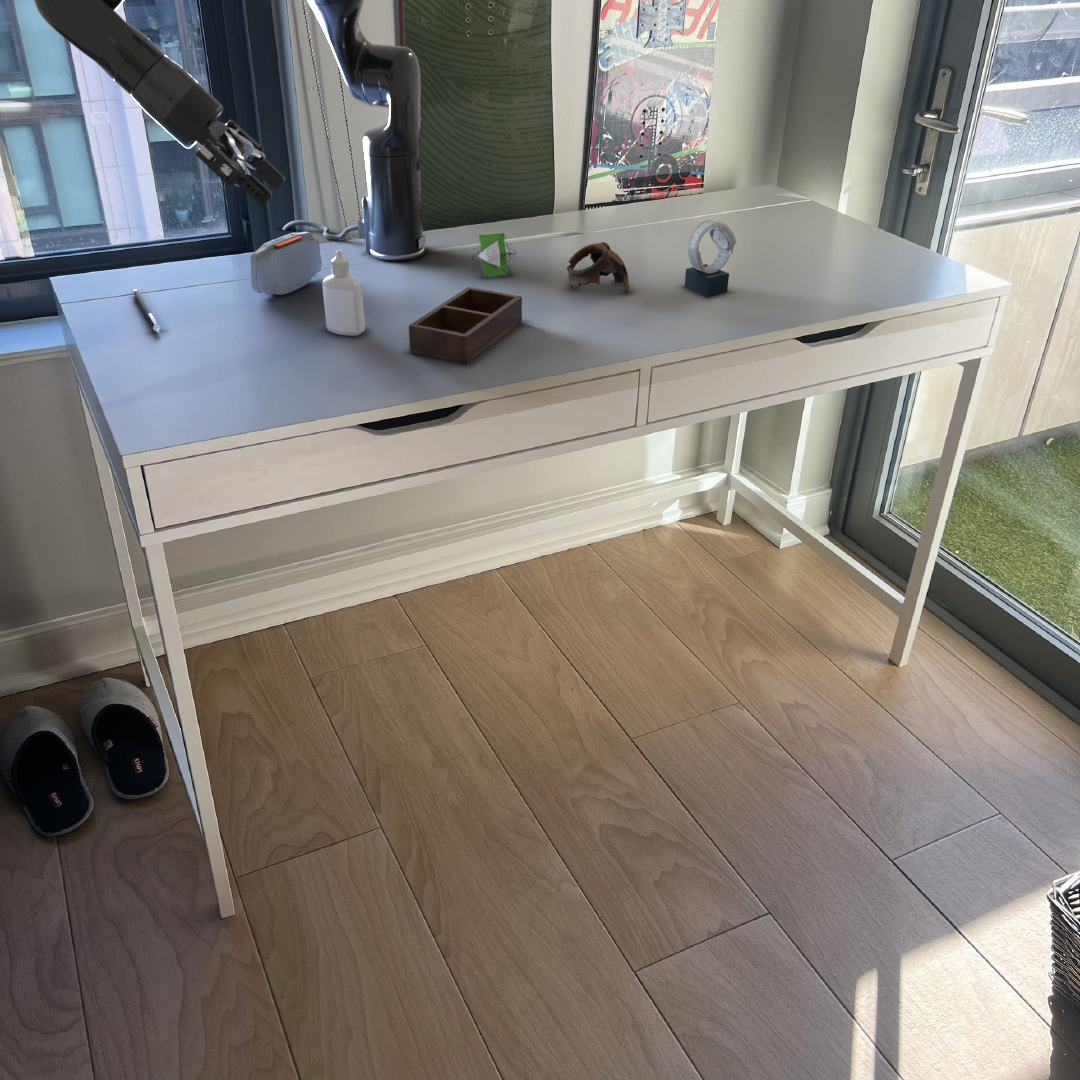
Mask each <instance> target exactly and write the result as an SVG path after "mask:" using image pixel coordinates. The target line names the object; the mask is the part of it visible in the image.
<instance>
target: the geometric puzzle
mask: <svg viewBox="0 0 1080 1080" xmlns="http://www.w3.org/2000/svg"><path fill="white" fill-rule="evenodd" d="M506 238H507V237H506V235H505V232H500V233H491V234H479V235H478V239H477V240H479V243H478V245H475V248H474V251H473V253H472V254H473V255H472V256H471V257H470V259H472V261H473V262H474V264H475V266H476V267H477V269H478V270H479V271H480V273H481V274H482V276H483V278H490V277H499V276H509V273H510V270H511V267H510V266H508V262H510V259H511V258H513V257H516V255H517V254H518V252H517V251H515V249H512V248H511V247H508V242H509V243H510V245H512V244H511V242H510V241H509V239H508V238H507V240H508V242H507V240H506ZM505 243H506V244H505ZM476 246H477V248H479V246H480V250H477V252H476V253H475V254H474V252H475V250H476ZM506 247H507V250H506ZM510 250H512V252H510ZM507 251H508V252H507ZM479 252H480V253H479ZM476 258H477V260H476ZM507 258H508V259H507ZM479 259H481V262H480V260H479ZM475 261H476V262H477V263H479V265H480V269H481V270H480V269H479V267H478V265H477V264H476V262H475ZM513 263H514V262H512V263H511V265H513Z"/></svg>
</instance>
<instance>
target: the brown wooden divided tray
mask: <svg viewBox="0 0 1080 1080" xmlns="http://www.w3.org/2000/svg"><path fill="white" fill-rule="evenodd" d="M522 323H523V296H521V295H515V294H511V293H505V292H499V291H493V290H488V289H483V288H477V287H471V286H467V287H466V288H464V289H462V290H460V291H459V292H458V293H456V294H455V295H453V296H451V297H450V298H449V299H447V300H445V301H444V302H442V303H441V304H439V305H438V306H436V307H434V308H433V309H432V310H430V311H428V312H427V313H426V314H424V315H423V316H421V317H419V318H418V319H417V320H415V321H413V322H412V323H410V324H409V325H408V340H409V353H410V354H413V355H419V356H424V357H429V358H432V359H433V358H434V359H437V360H442V361H446V362H447V361H448V362H452V363H456V364H460V365H461V364H462V365H469V364H470V363H472V362H473V361H474V360H476V358H477V357H479V356H481V355H482V354H483V353H484V352H486V351H488V349H490V348H491V347H492V346H494V345H495V344H496V343H497V342H498V341H500V340H501V339H502V338H504V337H505V336H506V335H508V334H509V333H510V332H511V331H513V330H514V329H516V328H517V327H518V326H519V325H521V324H522Z"/></svg>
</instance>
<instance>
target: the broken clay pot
mask: <svg viewBox="0 0 1080 1080" xmlns="http://www.w3.org/2000/svg"><path fill="white" fill-rule="evenodd" d="M589 255H590V256H589ZM588 256H589V257H590V260H591V261H592V263H593V264H592V265H589V266H587V267H585V268H583V269H575V267H576V266H577V265H578V263H579V262H581V261H582V260H584V259H585V258H587V257H588ZM568 263H569V264H568V266H567V267H566V271H567V272H568V274H567V275H568V276H567V284H568V287H570V289H574V287H579V288H580V287H582V286H588V285H590V284H596V285H599V286H601V277H609V275H611V274H612V276H613V282H614V283H615V284H622V285H623V287H624V291H625V294H629V293H630V291H631V285H630V280H629V279H630V278H629V277H630V276H629V273H628V269H627V267H626V265H625V263H624V261H623V259H622V257H621V256H620V255H619V254H618V253H616V251H614V250H612V249H611V246H610V245H609V244H608V242H605V241H602V242H596V243H595V242H594V243H590V244H588V245H585V246H583V247H581V248H580V249H579V250H577V251H576V252H574V254H573V255H572V256H570V258H569V259H568Z"/></svg>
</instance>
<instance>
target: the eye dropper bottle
mask: <svg viewBox="0 0 1080 1080" xmlns="http://www.w3.org/2000/svg"><path fill="white" fill-rule="evenodd" d="M349 263H350V262H349V259H348V257H347V258H346V257H344V254H343V252H342V249H336V250H335V257H333V258H332V259H331V260H330V266H331V274H329V275H328V276H326V277H325V278H324V279H323V280H322V295H323V305H324V315H325V324H326V329H327V330H328V331H329V332H331V333H333V334H336V335H340V336H350V337H351V336H352V337H354V336H355V337H356V336H359V335H361V334H362V333H363V332H365V330H366V323H365V322H366V321H365V311H364V299H363V298H364V297H363V289H362V288H363V287H362V283H361V281H360V280H358V278H356V277H355V276H353V275H351V274H350V265H349Z"/></svg>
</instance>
